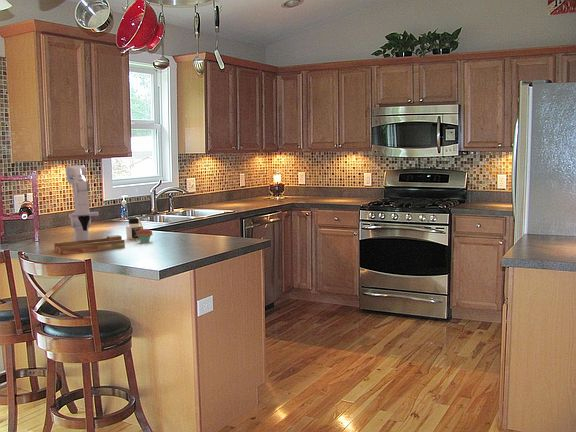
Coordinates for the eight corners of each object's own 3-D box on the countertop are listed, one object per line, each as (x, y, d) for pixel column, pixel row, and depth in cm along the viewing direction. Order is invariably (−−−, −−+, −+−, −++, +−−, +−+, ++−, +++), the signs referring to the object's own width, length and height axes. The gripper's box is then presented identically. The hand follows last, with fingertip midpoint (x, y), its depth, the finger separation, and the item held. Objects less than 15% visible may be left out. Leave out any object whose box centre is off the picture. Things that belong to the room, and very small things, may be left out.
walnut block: (107, 241, 334) (106, 236, 334) (118, 240, 337) (117, 234, 337) (110, 243, 329) (110, 237, 329) (121, 241, 332) (121, 236, 332)
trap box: (54, 251, 324) (54, 243, 324) (116, 244, 341) (116, 236, 341) (61, 254, 312) (60, 246, 312) (124, 247, 329) (124, 239, 329)
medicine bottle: (132, 239, 356) (130, 218, 354) (126, 238, 361) (125, 217, 360) (143, 238, 360) (142, 217, 359) (138, 237, 366) (136, 216, 364)
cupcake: (137, 243, 342) (135, 221, 341) (136, 241, 350) (135, 219, 349) (153, 242, 344) (152, 220, 343) (152, 240, 353) (151, 218, 351)
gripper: (70, 206, 320) (72, 232, 321) (99, 203, 327) (101, 229, 329) (67, 205, 326) (69, 231, 327) (95, 203, 333) (97, 228, 335)
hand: (84, 230), depth 329 cm, fingers closed
